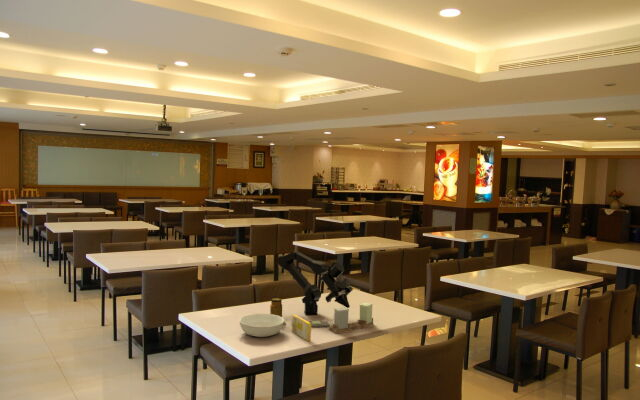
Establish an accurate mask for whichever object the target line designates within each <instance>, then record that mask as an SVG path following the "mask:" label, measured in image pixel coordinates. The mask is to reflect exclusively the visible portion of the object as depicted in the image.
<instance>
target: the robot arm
mask: <svg viewBox="0 0 640 400" xmlns="http://www.w3.org/2000/svg"><path fill="white" fill-rule="evenodd" d="M295 261H297V262H298V263H300V264H303V265H304V266H307V267H308V268H310V269H311V271H312V272H313V273H314V274H316V275H317V276H319V280H318V282H323V283H324V285H325V286H326V290H327V291H330V292H329V294H327V296H325V301H326V302H327V303H328V304H329V303H330V302H332V299H334V302H336V303H338V304H339V305H341V306H342V307H345V308H347V309H349V308H350V303H349V301H348V295H349V294H351V292H353V290H354V288H353V287H352V286H351V280H350V279H349V278H348V277H347V278H344V279H343V281H340V280H337V278H339V277H340V275H342V273H344V272H345V267H344V266H343V264H341V263H339V262H338V261H334V262H332V264H331V265H328V263H326V262H323V261H320V260H315V259H313V258H311V257H310V256H307V255H305V254H303V253H302V252H300V251H298V250H295V251H291V252H290V253H287V254H285V255H280V256H278V257H277V264H278V266H279V267H280V268H281V269H283V270H285V271H287V272H288V273H289V275H291V277H292V278H293V280H295V282H296V283H297V284H298V285H299V286H300V288H301V289H302V290H303V294H304V297H302V299H301V301H302V304H304V311H303V313H304V316H317V315H318V311H319V307H318V306H319V305H318V303H317V302H319V301H320V299H321V297H322V292H321V288H319V287H318V285H317V284H316V283H314V284H311V283H310V282H309V281H308V279H307V278H306V277H305V276H304V275H303V273H302V272H301V271H300V270H299V269H298V267H297V266H296V265H295Z"/></svg>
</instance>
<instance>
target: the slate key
mask: <svg viewBox="0 0 640 400" xmlns="http://www.w3.org/2000/svg"><path fill="white" fill-rule="evenodd" d="M333 310H334V312H333V313H334V317H333V318H334V319H333V320H334V321H333V324H335V325H337V326H338V329H345V328H348V324H349V312H350V309H349V308H347V307H345V306H342V307H335V308H333Z"/></svg>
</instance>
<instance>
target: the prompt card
mask: <svg viewBox="0 0 640 400" xmlns="http://www.w3.org/2000/svg"><path fill="white" fill-rule="evenodd" d="M308 322H310V323H311V329H313V328H329V327H330V326H331V324H330V323H329V321H328V320H313V321H312V320H311V321H308Z"/></svg>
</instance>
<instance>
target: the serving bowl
mask: <svg viewBox="0 0 640 400" xmlns="http://www.w3.org/2000/svg"><path fill="white" fill-rule="evenodd" d="M284 320H285V319H284V318H283V316H282V317H280V316H277V315H273V314H270V313H253V314H252V313H251V314H247V315H244V316H242V317H241V318H240V319H239V326H240V328H241V330H242V331H243V332H244V333H245V334H247V335H249V336H253V337H257V338H263V337H264V338H265V337H270V336H273V335H276V334H278V333H279V332H280V331H281V330H282V329H283V327H284V325H285V324H284Z"/></svg>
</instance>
